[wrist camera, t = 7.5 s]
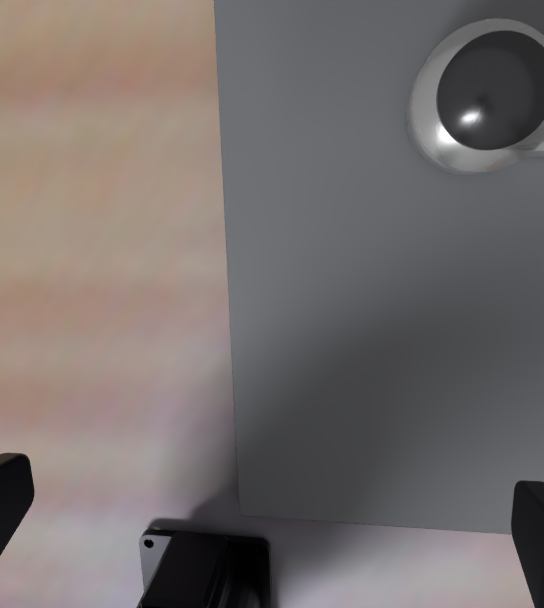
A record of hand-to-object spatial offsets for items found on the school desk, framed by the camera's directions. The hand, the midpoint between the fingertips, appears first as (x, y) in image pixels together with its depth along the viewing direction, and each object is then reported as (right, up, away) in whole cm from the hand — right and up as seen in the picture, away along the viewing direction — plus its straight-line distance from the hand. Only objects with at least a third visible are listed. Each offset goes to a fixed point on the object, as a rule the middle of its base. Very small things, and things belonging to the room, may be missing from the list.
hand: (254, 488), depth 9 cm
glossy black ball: (+7, +10, +6) cm, 13 cm away
